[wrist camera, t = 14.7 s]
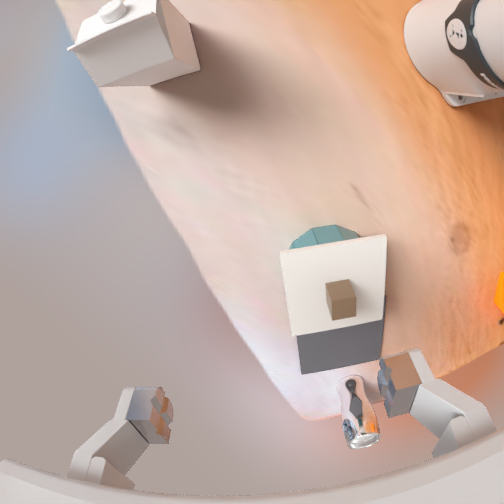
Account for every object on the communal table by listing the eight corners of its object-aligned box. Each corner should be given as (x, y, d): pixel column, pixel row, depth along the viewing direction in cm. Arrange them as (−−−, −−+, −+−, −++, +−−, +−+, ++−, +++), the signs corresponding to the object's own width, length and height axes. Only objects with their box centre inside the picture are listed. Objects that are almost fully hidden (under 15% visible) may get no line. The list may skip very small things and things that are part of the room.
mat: (384, 294, 51) (386, 296, 51) (378, 357, 59) (379, 359, 58) (293, 311, 52) (293, 314, 52) (301, 372, 60) (301, 374, 59)
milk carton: (201, 70, 35) (162, 54, 18) (148, 86, 36) (75, 89, 19) (189, 21, 31) (142, -26, 15) (136, 39, 32) (59, 13, 15)
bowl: (366, 219, 45) (380, 237, 39) (366, 291, 51) (377, 314, 45) (278, 233, 46) (282, 254, 40) (289, 305, 52) (293, 330, 46)
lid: (384, 233, 39) (398, 251, 35) (380, 316, 46) (390, 337, 41) (278, 251, 40) (282, 271, 36) (291, 332, 47) (294, 355, 43)
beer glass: (329, 381, 62) (342, 441, 49) (360, 369, 60) (378, 428, 47) (339, 396, 65) (351, 453, 52) (368, 385, 63) (384, 440, 50)
